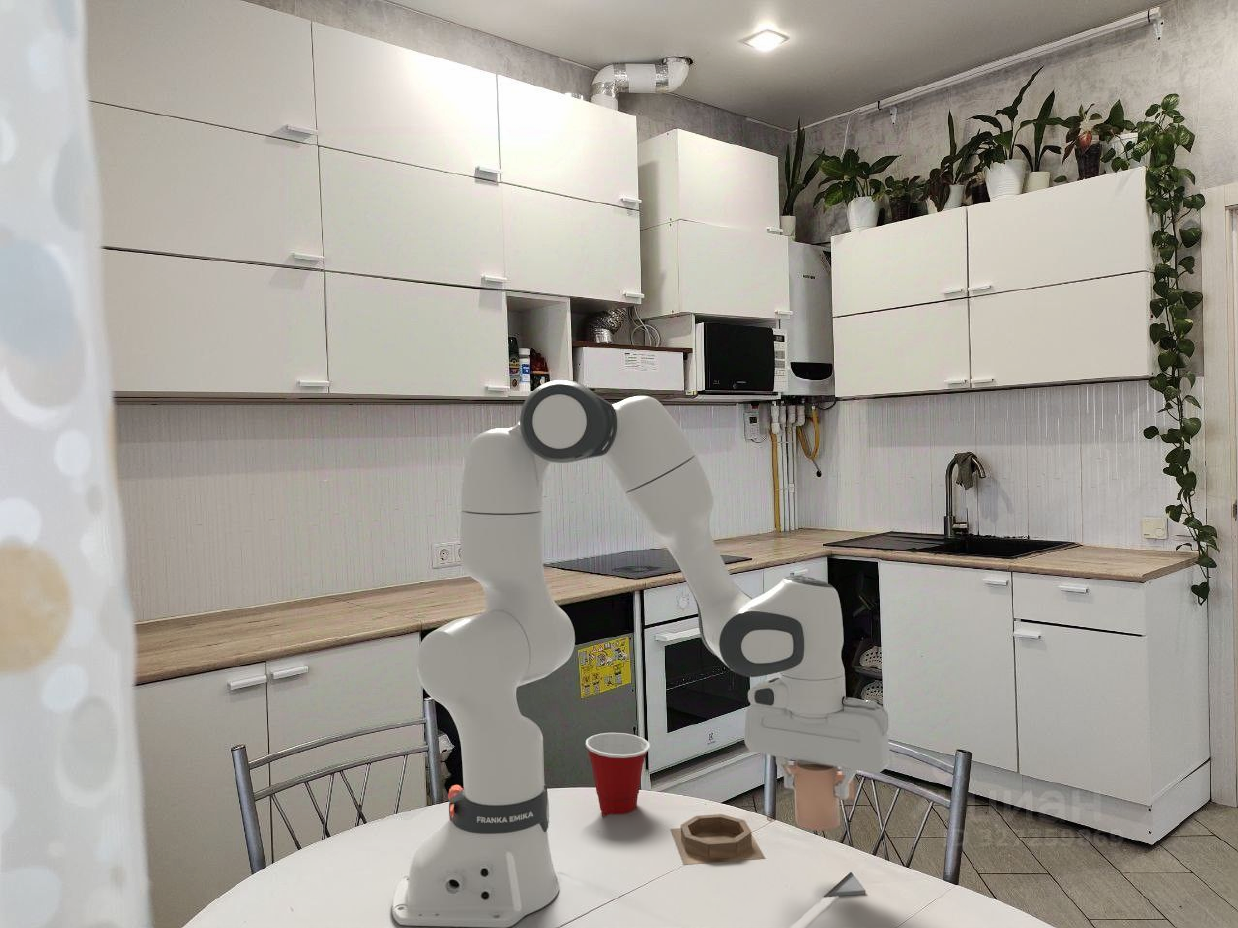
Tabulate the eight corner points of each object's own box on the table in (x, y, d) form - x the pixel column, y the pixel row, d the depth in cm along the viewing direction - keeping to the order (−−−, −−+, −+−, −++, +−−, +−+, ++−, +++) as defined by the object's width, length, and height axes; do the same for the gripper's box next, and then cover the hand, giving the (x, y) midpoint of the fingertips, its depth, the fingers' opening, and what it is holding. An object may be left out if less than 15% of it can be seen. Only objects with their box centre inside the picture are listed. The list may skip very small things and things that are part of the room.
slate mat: (792, 899, 117) (792, 895, 117) (772, 864, 127) (772, 861, 127) (865, 893, 118) (865, 889, 118) (839, 859, 128) (839, 855, 128)
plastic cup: (646, 828, 140) (643, 753, 140) (580, 824, 142) (578, 750, 142) (656, 801, 151) (654, 731, 151) (595, 797, 153) (593, 729, 153)
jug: (798, 833, 118) (796, 773, 118) (783, 815, 124) (781, 759, 124) (862, 826, 120) (859, 767, 120) (844, 809, 126) (842, 753, 126)
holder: (683, 871, 125) (683, 849, 125) (670, 835, 137) (669, 814, 137) (765, 864, 127) (765, 843, 126) (745, 829, 138) (744, 809, 138)
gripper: (894, 696, 118) (898, 798, 119) (756, 679, 130) (759, 772, 130) (880, 708, 113) (883, 815, 113) (737, 689, 125) (740, 786, 125)
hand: (816, 792), depth 122 cm, fingers closed on jug, 6 cm apart
